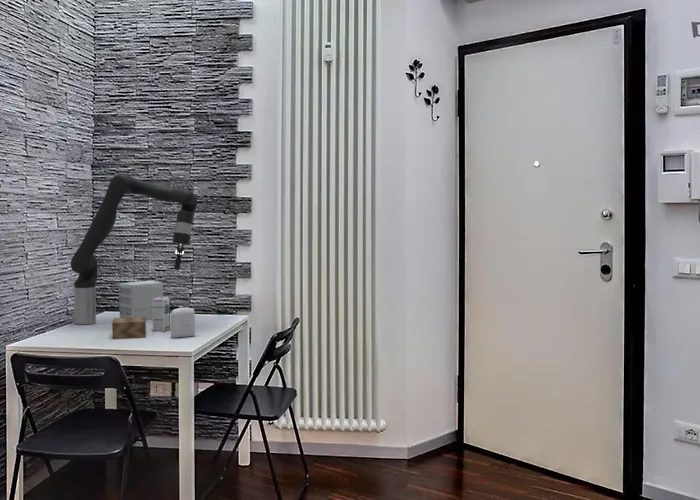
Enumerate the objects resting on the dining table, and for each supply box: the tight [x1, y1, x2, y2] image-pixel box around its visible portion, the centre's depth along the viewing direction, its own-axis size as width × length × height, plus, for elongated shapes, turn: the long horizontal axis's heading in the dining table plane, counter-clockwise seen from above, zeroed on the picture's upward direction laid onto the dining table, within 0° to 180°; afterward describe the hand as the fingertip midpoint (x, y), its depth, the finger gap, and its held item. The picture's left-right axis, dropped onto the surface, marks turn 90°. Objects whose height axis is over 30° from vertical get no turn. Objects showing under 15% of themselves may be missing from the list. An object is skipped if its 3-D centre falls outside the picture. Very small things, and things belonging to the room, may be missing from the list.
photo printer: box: [170, 307, 196, 339], centre depth 286 cm, size 10×4×12 cm, turn 126°
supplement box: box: [118, 280, 164, 321], centre depth 334 cm, size 17×13×18 cm
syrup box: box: [152, 296, 171, 332], centre depth 302 cm, size 6×6×14 cm
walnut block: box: [111, 317, 147, 340], centre depth 288 cm, size 13×13×7 cm
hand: (176, 268), depth 304 cm, fingers open, 8 cm apart
